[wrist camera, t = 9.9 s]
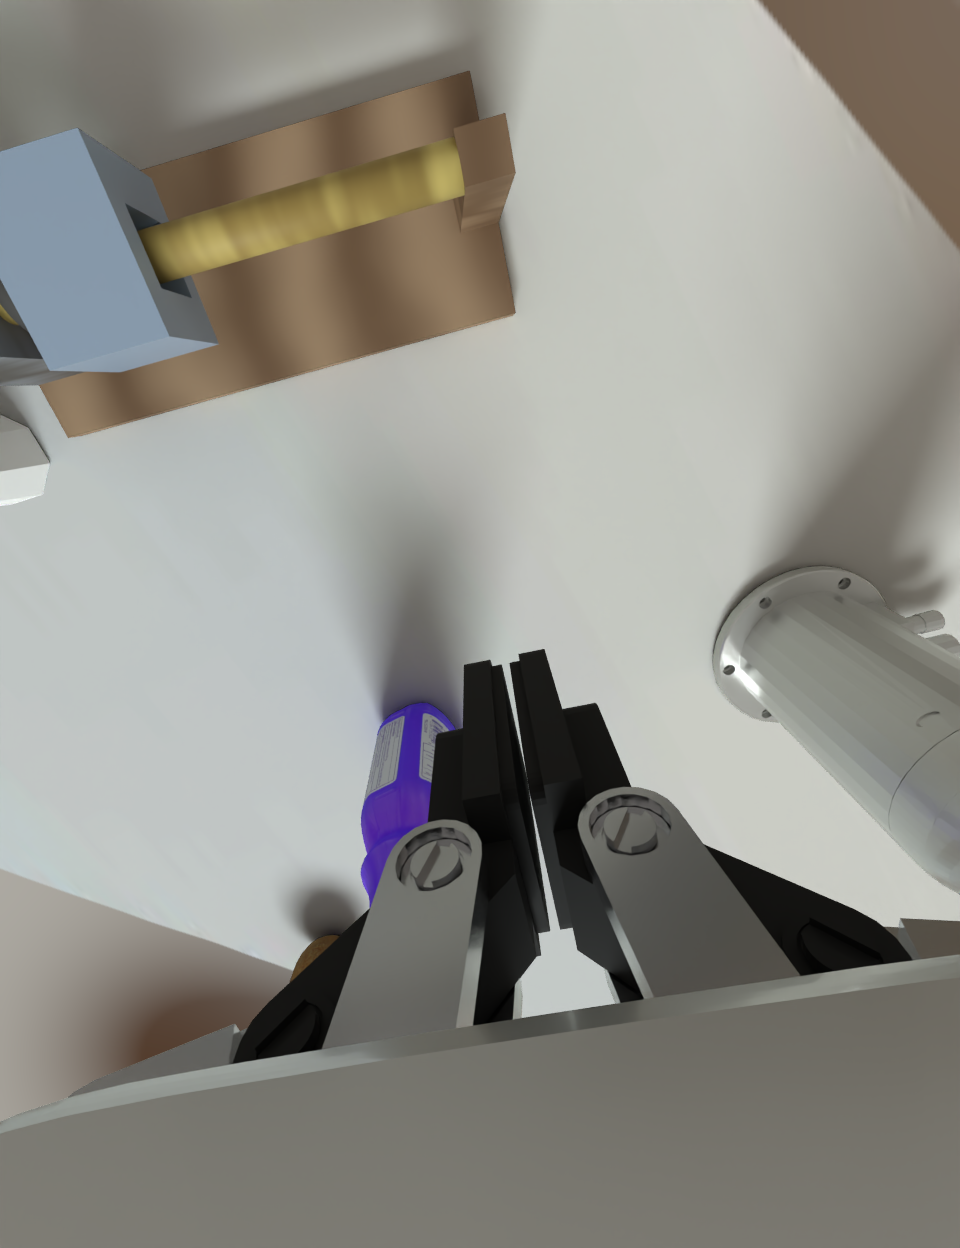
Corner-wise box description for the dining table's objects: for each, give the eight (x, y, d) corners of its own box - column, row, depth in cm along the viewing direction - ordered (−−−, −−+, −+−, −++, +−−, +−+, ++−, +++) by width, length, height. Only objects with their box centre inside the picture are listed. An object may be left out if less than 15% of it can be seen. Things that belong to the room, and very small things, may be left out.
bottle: (365, 716, 40) (314, 933, 25) (429, 683, 40) (419, 886, 24) (415, 780, 43) (398, 1011, 27) (476, 751, 42) (495, 972, 27)
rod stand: (468, 83, 26) (480, -66, 17) (513, 315, 30) (540, 289, 21) (-29, 233, 27) (-252, 164, 18) (81, 435, 31) (-59, 457, 22)
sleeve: (151, 178, 22) (77, 127, 18) (219, 344, 25) (169, 336, 21) (41, 211, 23) (-59, 169, 18) (120, 372, 25) (49, 370, 21)
